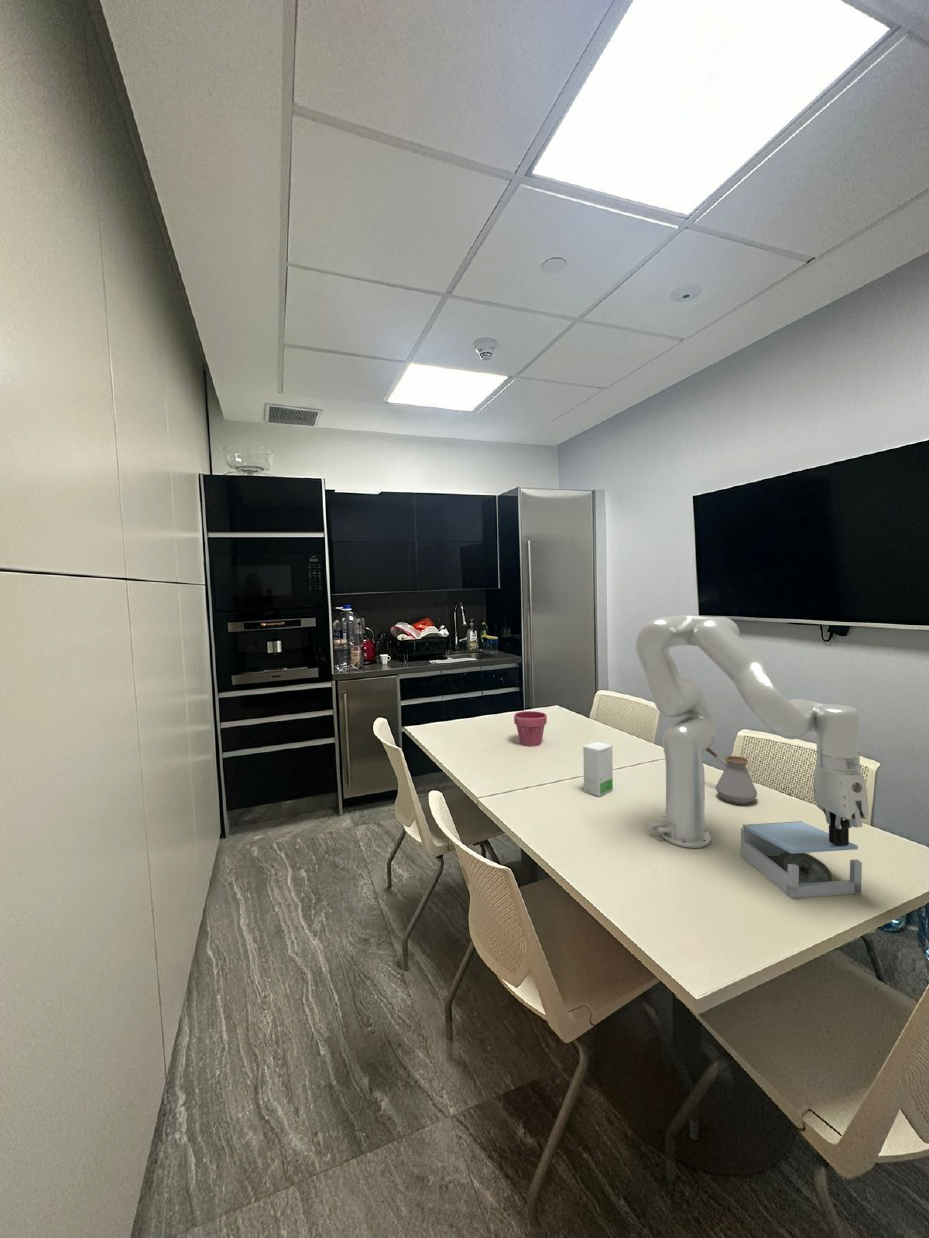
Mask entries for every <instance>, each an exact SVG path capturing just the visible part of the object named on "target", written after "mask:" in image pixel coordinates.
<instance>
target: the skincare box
mask: <svg viewBox="0 0 929 1238" xmlns="http://www.w3.org/2000/svg"><path fill="white" fill-rule="evenodd" d="M582 748H583V749H582V751H583V792H584V793H587V794H590V795H592V796H595V797H599V798H600V797H602V796H605V795H606V794H609V793H610V792H613V791H614V784H613V783H614V776H613V775H614V773H613V772H614V771H613V766H614V765H613V764H614V763H613V745H612V744H610V743H605V742H600V741H596V742H590V743H588V744H585V745H583V746H582Z"/></svg>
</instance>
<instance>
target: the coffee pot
mask: <svg viewBox="0 0 929 1238" xmlns="http://www.w3.org/2000/svg"><path fill="white" fill-rule="evenodd" d="M705 751H706V752H708V753H709V754H710V755H712V756H713V757H714V758H716V759H717V760H718V761H720V762H721V763H722V764H723V765H724V766H725V768H724V770H723V772H722V774H721V776H720V777H719V779H718V781H717V783H716V785H715V790H716V792H717V793H718V795H719V796H720V797H721V798H722V799H723V800H724V801H727V802H728V803H732V804H735V805H747V804H750V803H751V802H752V801H754V800H755V799H756V798H757V796H758V791H757V788H756V787H755V784H754V782H753V780H752V778H751V776H750V773H749V771H748V769H747V767H746V766H747V764H748V763H749V760H748V759H747V758H745V757H744V756H743V757H742V756H736V755H728V756H725V757H724V760H723V758H721V757H720V756H718V755H717V753H715V751H713V749H711V748H710V747H708V748H707V749H706V750H705Z"/></svg>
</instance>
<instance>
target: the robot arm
mask: <svg viewBox="0 0 929 1238" xmlns="http://www.w3.org/2000/svg"><path fill="white" fill-rule="evenodd" d="M635 646H636V647H635V649H636V653H637V656H638V659H639V661H640V665H641V666H642V669H643V672H644V675H645V678H646V681H647V685H648V687H649V691H650V693H651V696H652V699H653V702H654V706H655V707H656V710H657V711H658V712H659V714H660V715H662V716H664V717H666V718H676V719H677V721H676V722H674V723H672V724H670V726H667V728H666V730H665V732H664V733H663V737H662V748H663V749H662V750H663V752H664V760H665V816H662V817H661V818H662V820H658V821H649V822H648V823H647V826H648V829H649V830H650V831H651V830H657V833H658V834H660V836H661V837H662V838H663V839H664V840H665V841H667V842H669V843H671V844H673V845H676V846H678V847H683V848H692V849H697V848H698V849H699V848H705V847H707V846H708V845H710V843H711V842H712V836H711V834H710V832H709V831H708V830H706V829H705V806H706V805H705V792H706V791H705V780H706V779H705V777H706V776H705V766H704V763H703V757H702V755H703V754H702V753H703V752H704V751H706V749H707V748H708V747H709V748H710V747H711V746H712V745H713V744H714V743H715V741H716V739H717V729H716V724H715V722H714V720H713V716H712V714H711V711H710V709H709V708H710V707H709V706H708V705H709V704H708V703H707V700H706V697H705V695H704V692H703V691H702V688H701V687H700V686H699V685H698V684H697V683H696V682H695V681H693V680H692V679H690V678H686V677H681V675H680V673H679V669H678V667H677V664H676V662H675V660H674V658H673V657H672V656H671V654H670V652H669V649H671V648H673V647H674V648H675V647H678V646H694V647H697V648H699V649H700V650H701V651H702V653H704V654H705V655H706V656H707V657H708V658H709V659H710V660H711V661H712V662H713V663H714V664H715V665H716V666H717V668H719V669H720V670H721V671H722V672H723V673H724V674H725V675H726V676H727V677H728V678H729V679H730V680H731V681H732V683H733V684H734V685H735V688H736V690H737V692H738V693H739V694H740V696H741V698H742V700H743V701H744V703H745V704H746V705H747V707H748V708H749V710H751V711H752V713H754V715H756V717H758V719H759V720H760V721H761V722H763V724H764V725H766V727H768V728H769V729H770V731H772V732H773V733H774V734H775V735H777V736H779V737H781V738H784V739H787V740H797V739H801V738H803V737H804V736H806V735H807V734H808V733H811V732H815V734H816V763H815V767H814V773H813V783H812V784H813V786H812V787H813V788H812V791H813V792H812V793H813V800H814V802H815V804H816V806H817V808H818V809H819V810H820V811H822V812H823V813H824V815H825V821H826V823H827V824H828V833H829V842H830V843H833V844H834V845H835V846H843V845H848V844H849V842H850V834H849V831H850V829H851V828H863V822H862V821H863V820H862V819H864V820H867V819H868V818H869V799H868V791H867V790H868V789H867V784H866V780H865V777H864V774H863V772H861V770H862V766H861V757H860V756H861V752H860V751H861V750H860V748H861V747H860V744H861V743H860V733H861V731H860V713H859V711H858V709H856V708H855V707H853V706H850V705H846V704H845V705H844V704H838V703H837V704H835V703H822V702H817V701H813V700H807V699H803V698H792V699H789V700H788V699H787V698H786V697H785V696H784V695H783V694H782V693H781V692H780V691H779V689H777V688H776V686H775V684H774V683H773V682H772V681H771V679H770V678H769V675H768V674H767V672H768V671H767V668H766V664H765V662H764V659H763V658H762V657H761V656H760V655H759V654H758V653H757V652H755V650H754V649H752V648H751V647H750V646H749V645H748V644H747V643H746V642H745V641H744V640H743V639H741V637H740V629H739V626H738V625H737V623H736V622H734V621H733V619H731V618H728V617H726V616H703V615H685V614H684V615H683V614H681V615H680V614H679V615H671V616H661V617H658V618H654V619H652V620H650V621H649V622H647V623H646V624H645V625H643V627H642V628H641V630H640V631H639V633H638V635H637V638H636V644H635Z"/></svg>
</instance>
